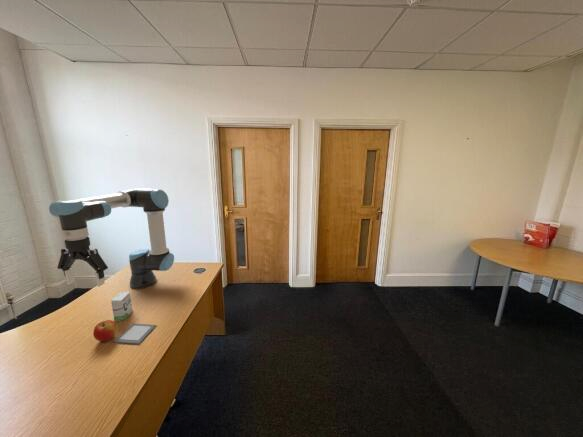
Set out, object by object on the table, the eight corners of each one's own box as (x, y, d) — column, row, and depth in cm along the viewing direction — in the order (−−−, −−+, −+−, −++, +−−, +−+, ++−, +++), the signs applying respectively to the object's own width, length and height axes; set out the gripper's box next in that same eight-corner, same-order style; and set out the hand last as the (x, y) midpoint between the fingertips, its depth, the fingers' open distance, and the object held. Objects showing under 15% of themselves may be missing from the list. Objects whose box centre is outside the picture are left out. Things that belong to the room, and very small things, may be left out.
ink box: (124, 320, 115) (120, 300, 113) (113, 321, 115) (110, 301, 112) (133, 310, 124) (130, 291, 121) (123, 310, 123) (120, 291, 120)
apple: (121, 331, 108) (118, 313, 106) (112, 344, 100) (108, 325, 98) (102, 333, 106) (98, 315, 104) (91, 346, 99) (87, 327, 96)
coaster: (133, 324, 113) (133, 323, 113) (156, 325, 112) (156, 324, 112) (113, 342, 101) (113, 341, 101) (139, 344, 101) (139, 343, 100)
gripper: (38, 239, 89) (49, 287, 94) (97, 242, 88) (106, 290, 93) (58, 233, 96) (68, 278, 101) (113, 236, 95) (120, 281, 100)
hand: (86, 284), depth 97 cm, fingers open, 13 cm apart
